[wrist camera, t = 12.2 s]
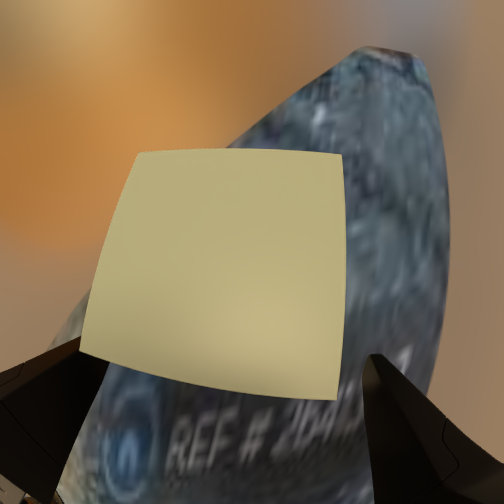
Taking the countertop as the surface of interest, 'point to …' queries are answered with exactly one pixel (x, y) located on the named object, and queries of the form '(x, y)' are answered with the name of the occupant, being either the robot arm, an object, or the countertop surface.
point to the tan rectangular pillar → (226, 272)
